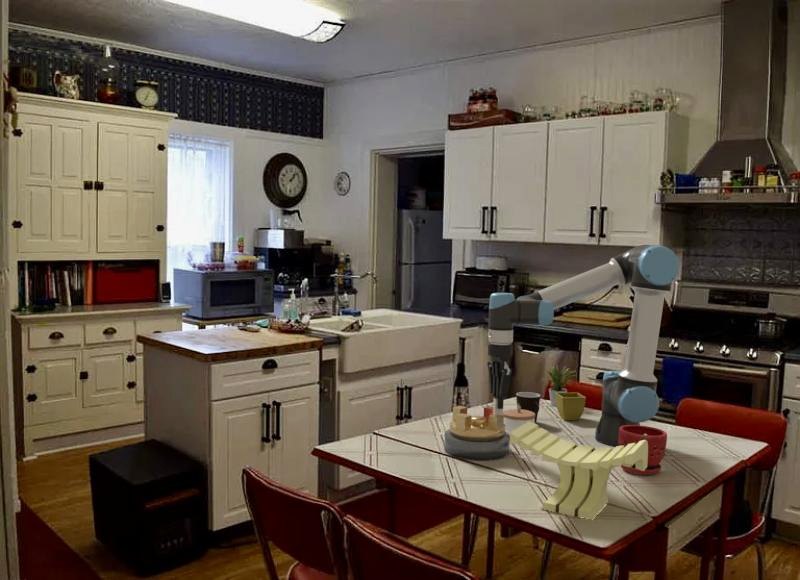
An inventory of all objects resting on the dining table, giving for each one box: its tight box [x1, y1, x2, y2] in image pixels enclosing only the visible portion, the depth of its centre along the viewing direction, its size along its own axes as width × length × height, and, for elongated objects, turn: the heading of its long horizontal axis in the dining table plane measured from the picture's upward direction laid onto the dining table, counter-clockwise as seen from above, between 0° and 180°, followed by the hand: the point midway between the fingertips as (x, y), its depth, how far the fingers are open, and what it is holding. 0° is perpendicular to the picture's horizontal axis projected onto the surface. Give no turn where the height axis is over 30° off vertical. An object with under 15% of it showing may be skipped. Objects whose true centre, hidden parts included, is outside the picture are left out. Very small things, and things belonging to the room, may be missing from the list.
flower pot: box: [556, 392, 587, 421], centre depth 268 cm, size 9×9×9 cm
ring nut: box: [449, 405, 506, 442], centre depth 225 cm, size 17×17×7 cm
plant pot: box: [618, 424, 668, 476], centre depth 210 cm, size 13×13×12 cm
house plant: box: [543, 364, 578, 407], centre depth 288 cm, size 14×14×16 cm
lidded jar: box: [503, 408, 535, 436], centre depth 244 cm, size 11×11×9 cm
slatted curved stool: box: [510, 422, 648, 519], centre depth 182 cm, size 30×16×18 cm, turn 59°
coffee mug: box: [515, 391, 541, 424], centre depth 260 cm, size 12×9×10 cm
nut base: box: [443, 428, 510, 462], centre depth 226 cm, size 20×20×5 cm
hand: (497, 418), depth 227 cm, fingers closed
